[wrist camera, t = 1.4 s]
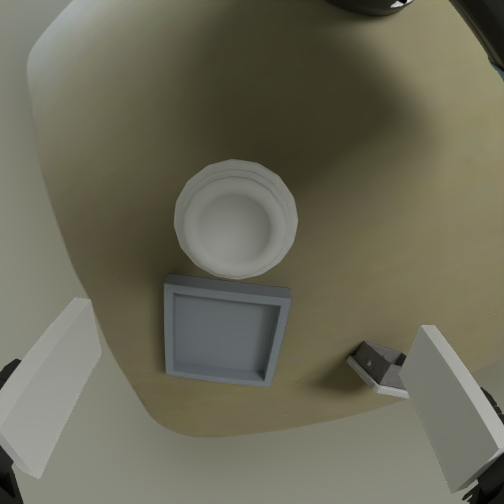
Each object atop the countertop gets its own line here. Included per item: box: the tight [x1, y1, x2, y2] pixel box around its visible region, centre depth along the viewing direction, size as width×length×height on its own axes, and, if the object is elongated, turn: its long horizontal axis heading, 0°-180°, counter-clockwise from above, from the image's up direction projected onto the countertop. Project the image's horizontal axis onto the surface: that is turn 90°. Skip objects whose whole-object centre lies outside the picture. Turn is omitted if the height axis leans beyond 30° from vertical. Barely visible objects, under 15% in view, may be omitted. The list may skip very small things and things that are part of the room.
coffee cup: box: [174, 159, 298, 280], centre depth 26 cm, size 9×9×12 cm
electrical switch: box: [347, 341, 410, 399], centre depth 36 cm, size 9×5×9 cm, turn 66°
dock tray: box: [164, 274, 292, 387], centre depth 37 cm, size 14×14×2 cm
